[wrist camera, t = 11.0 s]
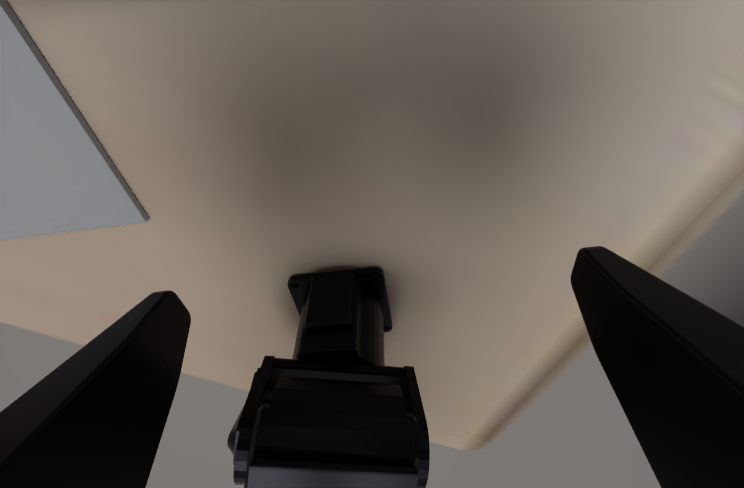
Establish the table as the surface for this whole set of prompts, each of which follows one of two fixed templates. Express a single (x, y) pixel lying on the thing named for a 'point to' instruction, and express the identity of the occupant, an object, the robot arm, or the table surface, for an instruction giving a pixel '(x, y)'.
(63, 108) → the mat
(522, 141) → the table surface
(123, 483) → the robot arm
